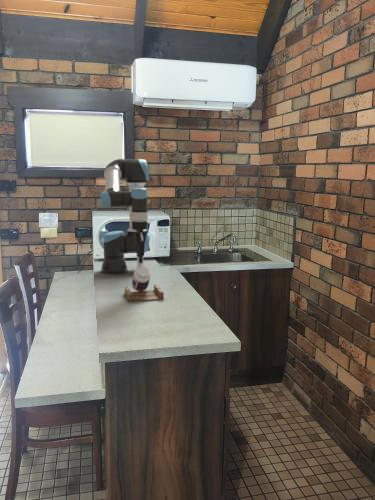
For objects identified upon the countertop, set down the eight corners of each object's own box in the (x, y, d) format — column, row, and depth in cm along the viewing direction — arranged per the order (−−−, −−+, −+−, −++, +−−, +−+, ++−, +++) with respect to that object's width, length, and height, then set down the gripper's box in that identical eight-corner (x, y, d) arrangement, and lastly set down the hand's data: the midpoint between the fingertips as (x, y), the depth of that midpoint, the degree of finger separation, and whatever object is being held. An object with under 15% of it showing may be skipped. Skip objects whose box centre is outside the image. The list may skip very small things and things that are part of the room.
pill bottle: (150, 283, 213) (155, 269, 201) (141, 295, 208) (145, 282, 196) (137, 274, 214) (140, 260, 202) (128, 286, 209) (131, 272, 197)
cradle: (124, 293, 206) (124, 286, 206) (156, 291, 211) (156, 284, 210) (129, 302, 193) (129, 295, 192) (163, 299, 198) (163, 292, 197)
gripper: (129, 219, 207) (130, 266, 211) (134, 222, 195) (135, 272, 199) (144, 219, 209) (145, 265, 214) (150, 222, 197) (150, 271, 201)
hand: (140, 269), depth 206 cm, fingers closed
